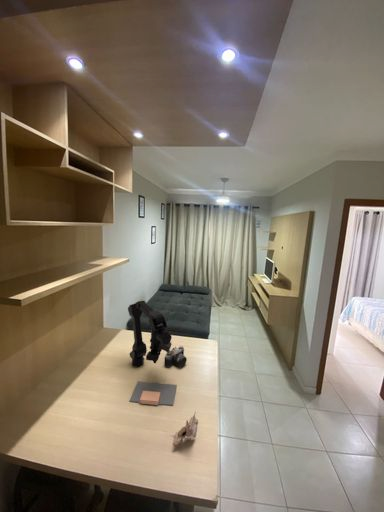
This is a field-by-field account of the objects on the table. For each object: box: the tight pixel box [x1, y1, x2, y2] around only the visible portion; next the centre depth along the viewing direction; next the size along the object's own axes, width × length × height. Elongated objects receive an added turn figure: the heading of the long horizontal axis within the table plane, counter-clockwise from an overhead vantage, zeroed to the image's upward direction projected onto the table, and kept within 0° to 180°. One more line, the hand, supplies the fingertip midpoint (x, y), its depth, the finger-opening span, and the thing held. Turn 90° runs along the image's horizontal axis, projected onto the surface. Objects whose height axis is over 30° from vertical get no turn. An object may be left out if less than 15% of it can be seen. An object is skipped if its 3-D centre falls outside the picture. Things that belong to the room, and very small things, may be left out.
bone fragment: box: [172, 411, 199, 447], centre depth 93 cm, size 16×7×10 cm
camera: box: [163, 345, 187, 369], centre depth 140 cm, size 16×10×10 cm, turn 138°
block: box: [139, 391, 160, 406], centre depth 110 cm, size 9×2×6 cm
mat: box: [129, 381, 178, 407], centre depth 115 cm, size 22×14×1 cm, turn 87°
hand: (155, 362), depth 122 cm, fingers closed
